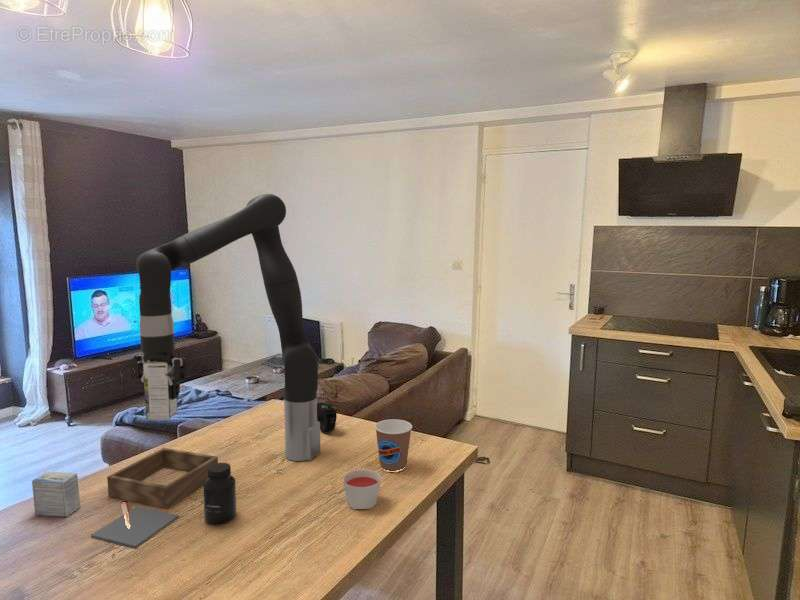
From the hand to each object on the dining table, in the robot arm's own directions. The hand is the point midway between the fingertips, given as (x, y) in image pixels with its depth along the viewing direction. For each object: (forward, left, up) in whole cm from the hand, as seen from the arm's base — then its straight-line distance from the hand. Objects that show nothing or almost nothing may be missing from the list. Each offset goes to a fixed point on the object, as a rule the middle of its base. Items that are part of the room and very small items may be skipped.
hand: (161, 397), depth 124 cm
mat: (-8, +17, -23) cm, 30 cm away
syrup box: (0, 0, -5) cm, 5 cm away
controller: (-22, -46, -23) cm, 56 cm away
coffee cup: (-52, -28, -23) cm, 63 cm away
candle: (-51, -8, -23) cm, 57 cm away
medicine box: (+14, +18, -24) cm, 33 cm away
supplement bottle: (-23, +8, -23) cm, 34 cm away
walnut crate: (0, 0, -23) cm, 23 cm away
